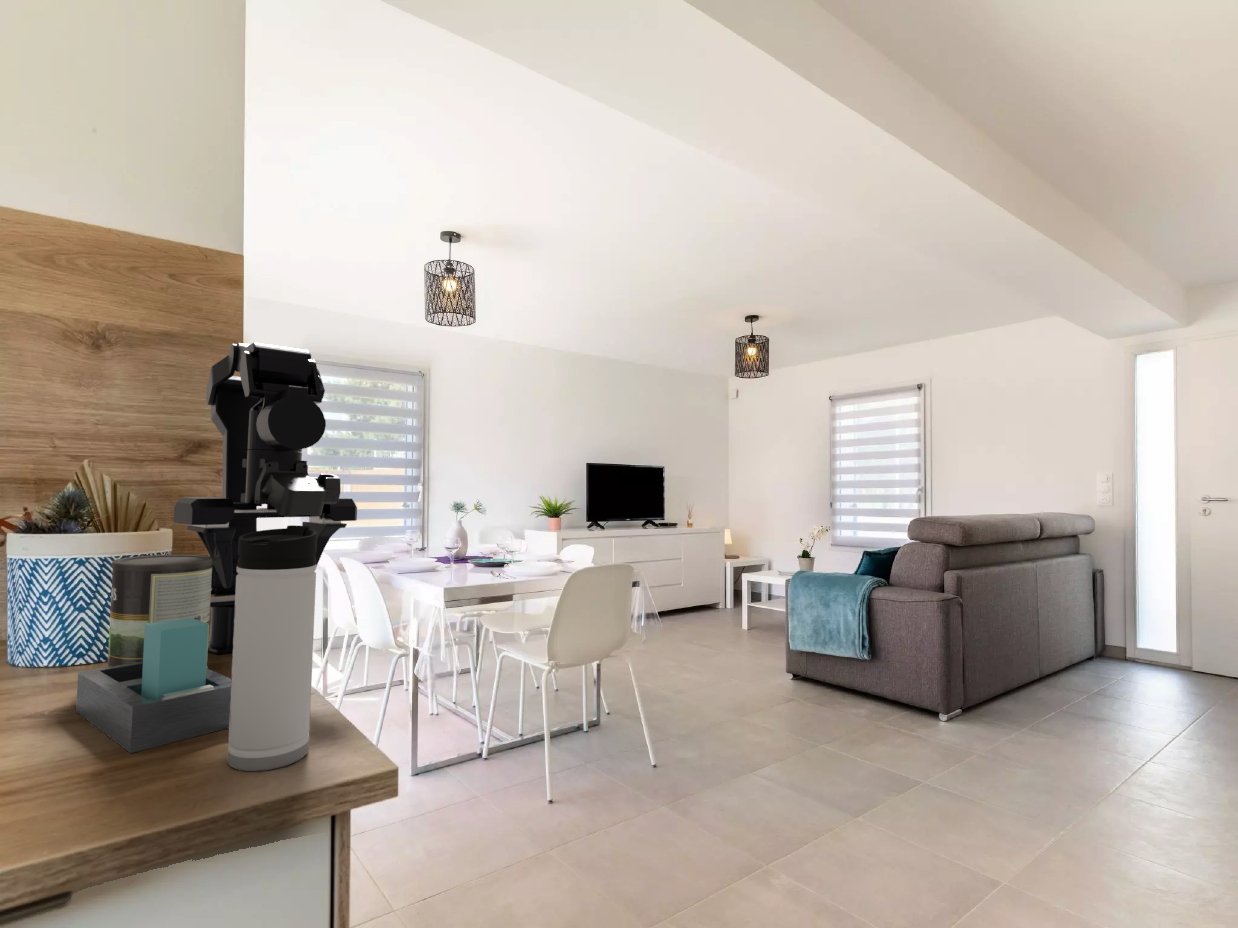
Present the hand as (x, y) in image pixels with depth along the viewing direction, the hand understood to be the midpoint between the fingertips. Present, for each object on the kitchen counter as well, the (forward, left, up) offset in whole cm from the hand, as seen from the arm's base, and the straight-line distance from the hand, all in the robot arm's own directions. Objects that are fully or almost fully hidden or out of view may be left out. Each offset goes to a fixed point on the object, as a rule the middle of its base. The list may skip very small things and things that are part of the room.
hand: (269, 583), depth 77 cm
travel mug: (+21, -9, -12) cm, 25 cm away
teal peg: (+7, -12, -12) cm, 18 cm away
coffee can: (-13, -6, -12) cm, 19 cm away
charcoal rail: (+3, -12, -12) cm, 17 cm away
